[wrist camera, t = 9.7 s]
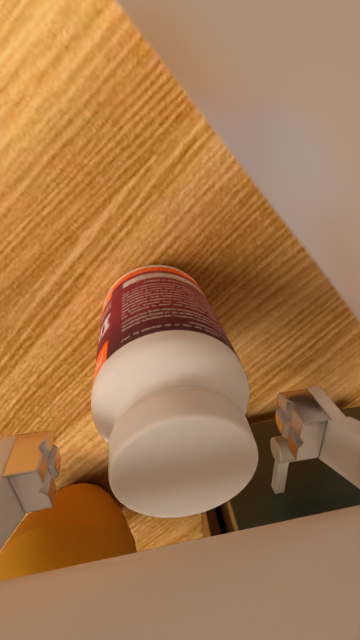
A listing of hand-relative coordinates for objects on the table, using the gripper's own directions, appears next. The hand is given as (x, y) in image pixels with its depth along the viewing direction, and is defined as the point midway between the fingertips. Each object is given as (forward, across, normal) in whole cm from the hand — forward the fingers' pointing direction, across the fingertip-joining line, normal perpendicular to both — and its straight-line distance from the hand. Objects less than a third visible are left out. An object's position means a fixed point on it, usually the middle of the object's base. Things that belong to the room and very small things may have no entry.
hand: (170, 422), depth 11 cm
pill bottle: (+9, 0, 0) cm, 9 cm away
